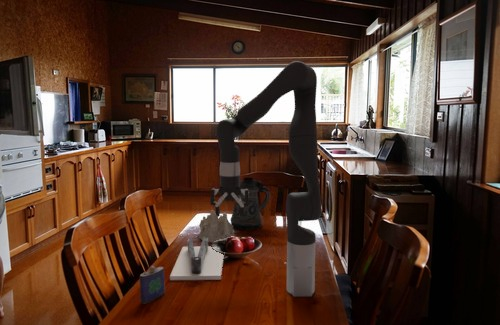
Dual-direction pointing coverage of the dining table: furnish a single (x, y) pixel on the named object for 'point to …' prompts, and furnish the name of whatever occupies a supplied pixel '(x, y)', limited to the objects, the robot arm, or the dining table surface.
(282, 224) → the dining table surface
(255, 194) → the beer stein
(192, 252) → the tongs arm
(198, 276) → the cutting board
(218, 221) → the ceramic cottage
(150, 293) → the flask
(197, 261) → the arm
